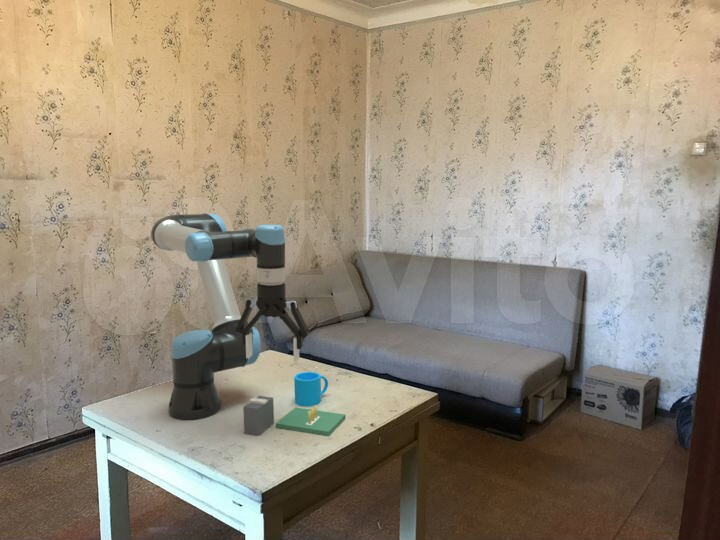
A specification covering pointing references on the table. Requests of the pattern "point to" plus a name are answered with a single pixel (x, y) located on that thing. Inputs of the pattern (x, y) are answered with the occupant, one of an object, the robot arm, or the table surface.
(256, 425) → the grey block with band
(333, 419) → the board
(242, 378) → the table surface
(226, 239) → the robot arm
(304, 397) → the mug
